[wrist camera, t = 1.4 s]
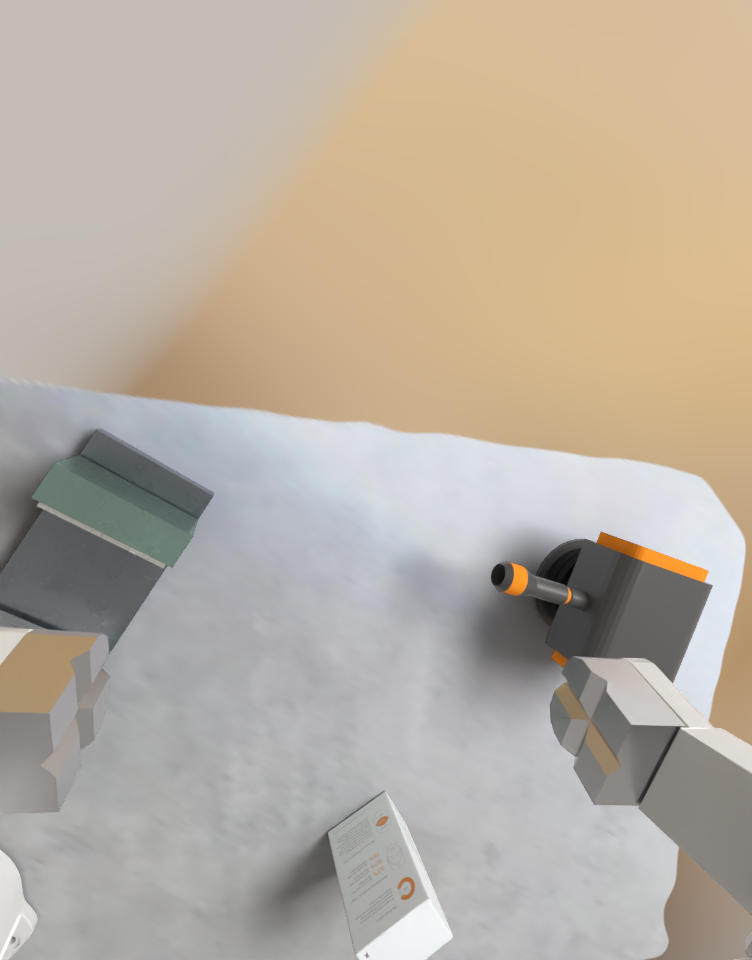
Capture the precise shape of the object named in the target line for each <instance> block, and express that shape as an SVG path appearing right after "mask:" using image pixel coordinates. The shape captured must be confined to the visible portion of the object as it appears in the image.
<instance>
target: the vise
mask: <svg viewBox="0 0 752 960" xmlns="http://www.w3.org/2000/svg"><path fill="white" fill-rule="evenodd" d="M80 456H82V457H84V458H86V459H88V460H89V461H91V462H93V463H95V464H97V465H99V466H100V467H102V468H104V469H106V470H108V471H110V472H112V473H113V474H115V475H117V476H119V477H121V478H123V479H124V480H126V481H128V482H130V483H132V484H134V485H136V486H137V487H139V488H141V489H143V490H145V491H147V492H148V493H150V494H152V495H154V496H156V497H158V498H160V499H161V500H163V501H165V502H167V503H169V504H171V505H172V506H174V507H176V508H178V509H180V510H182V511H183V512H185V513H187V514H189V515H191V516H193V517H195V518H196V519H199V517H200V516H201V514H202V513H203V511H204V509H205V508H206V506H207V505H208V503H209V502H210V500H211V499H212V497H213V496H214V493H213V492H211V491H210V490H208V489H206V488H204V487H203V486H201V485H199V484H197V483H196V482H194V481H192V480H190V479H189V478H187V477H185V476H183V475H182V474H180V473H178V472H176V471H175V470H173V469H171V468H169V467H168V466H166V465H164V464H162V463H160V462H159V461H157V460H155V459H153V458H152V457H150V456H148V455H146V454H145V453H143V452H141V451H139V450H138V449H136V448H134V447H132V446H131V445H129V444H127V443H125V442H124V441H122V440H120V439H118V438H117V437H115V436H113V435H111V434H110V433H108V432H106V431H104V430H102V429H97V430H96V431H95V433H94V434H93V436H92V437H91V439H90V440H89V442H88V443H87V445H86V446H85V448H84V449H83V451H82V452H81V454H80ZM167 566H168V565H166V566H165V567H164V568H162V567H160V566H158V565H156V564H153V563H151V562H149V561H147V560H145V559H143V558H141V557H139V556H137V555H135V554H133V553H131V552H129V551H127V550H125V549H123V548H121V547H119V546H117V545H115V544H113V543H111V542H109V541H107V540H105V539H103V538H101V537H99V536H97V535H95V534H93V533H90V532H88V531H86V530H84V529H82V528H80V527H78V526H76V525H74V524H72V523H70V522H68V521H66V520H64V519H62V518H60V517H58V516H56V515H54V514H52V513H50V512H48V511H46V510H44V509H43V510H42V512H41V513H40V515H39V516H38V518H37V519H36V521H35V522H34V524H33V525H32V527H31V528H30V530H29V531H28V533H27V534H26V536H25V537H24V539H23V540H22V542H21V543H20V545H19V546H18V548H17V549H16V551H15V552H14V554H13V555H12V557H11V558H10V560H9V561H8V563H7V564H6V566H5V567H4V569H3V570H2V572H1V573H0V627H10V628H24V629H34V630H35V629H47V630H61V631H75V632H89V633H103V634H104V635H106V636H107V637H108V648H109V654H110V652H111V651H112V649H113V648H114V646H115V645H116V643H117V642H118V640H119V639H120V637H121V636H122V634H123V632H124V631H125V629H126V628H127V626H128V625H129V623H130V622H131V620H132V619H133V617H134V616H135V614H136V613H137V611H138V610H139V608H140V607H141V605H142V604H143V602H144V601H145V599H146V598H147V596H148V595H149V593H150V591H151V590H152V588H153V587H154V585H155V584H156V582H157V581H158V579H159V578H160V576H161V575H162V573H163V572H164V570H165V569H166V567H167ZM105 661H106V660H105ZM104 663H105V662H104ZM103 665H104V664H103ZM102 667H103V666H102Z"/></svg>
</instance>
